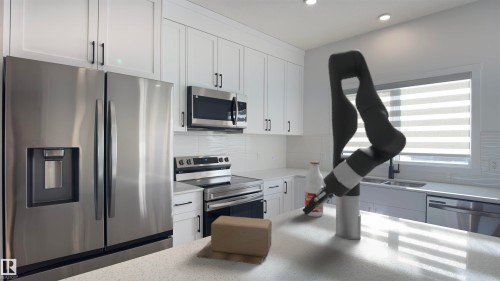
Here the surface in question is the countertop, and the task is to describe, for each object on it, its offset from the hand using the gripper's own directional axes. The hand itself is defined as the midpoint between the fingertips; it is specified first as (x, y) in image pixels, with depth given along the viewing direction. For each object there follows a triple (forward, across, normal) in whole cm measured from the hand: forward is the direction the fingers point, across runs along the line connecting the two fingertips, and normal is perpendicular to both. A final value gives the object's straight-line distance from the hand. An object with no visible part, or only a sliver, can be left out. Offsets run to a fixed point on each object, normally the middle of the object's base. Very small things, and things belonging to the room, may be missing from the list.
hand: (305, 212), depth 85 cm
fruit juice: (+25, -52, -1) cm, 58 cm away
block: (+16, +2, -1) cm, 16 cm away
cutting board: (+28, +8, -5) cm, 29 cm away
